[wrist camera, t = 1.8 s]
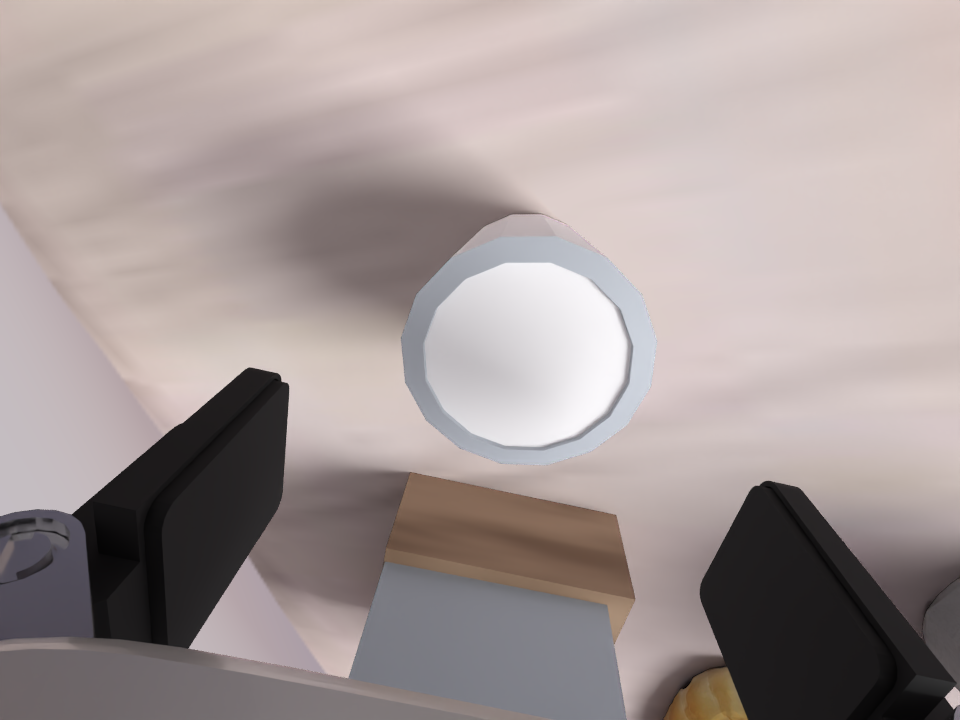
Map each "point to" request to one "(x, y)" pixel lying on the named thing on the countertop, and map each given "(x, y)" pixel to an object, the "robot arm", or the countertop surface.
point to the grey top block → (490, 646)
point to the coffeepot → (945, 629)
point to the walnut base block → (512, 542)
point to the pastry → (708, 698)
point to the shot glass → (528, 344)
